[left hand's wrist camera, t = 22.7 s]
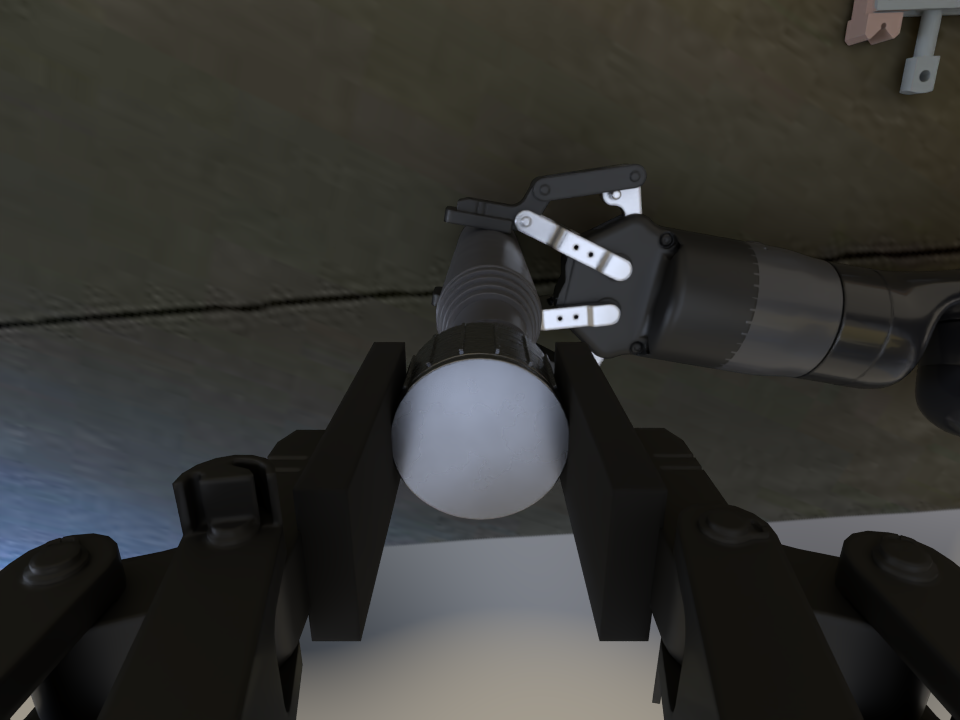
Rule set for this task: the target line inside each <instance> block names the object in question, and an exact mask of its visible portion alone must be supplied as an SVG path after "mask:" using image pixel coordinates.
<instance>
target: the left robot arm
mask: <svg viewBox="0 0 960 720" xmlns="http://www.w3.org/2000/svg"><path fill="white" fill-rule="evenodd" d="M554 376H555V380H556V383H557V386H558V389H559V392H560V396H561V399H562V402H563V405H564V408H565V411H566V414H567V417H568V420H569V442H568V458H567V463H566V465H565V468H564V470H563V472H562V474H561V476H560V480H561V484H562V489H563V493H564V497H565V501H566V505H567V509H568V513H569V517H570V521H571V526H572V530H573V534H574V538H575V542H576V546H577V550H578V554H579V558H580V563H581V567H582V571H583V575H584V579H585V583H586V587H587V591H588V595H589V600H590V604H591V608H592V612H593V616H594V620H595V624H596V628H597V632H598V636H599V640H600V641H648V640H649V632H650V624H651V617H652V613H653V616H654V619H655V621H656V624H657V627H658V630H659V632H660V635H661V643H660V650H659V657H658V664H657V671H656V678H655V685H654V693H653V700H652V703H658V704H660V700H661V697H662V705H663V714H664V720H940V719H939V718H938V717H937V716H936V715H935V714H934V713H933V712H932V710H931V709H930V708H929V707H928V706H927V705H926V704H927V701H928V698H929V695H930V693H932V694H933V695H934V696H935V697H936V698H937V700H938V701H939V702H940V703H941V704H942V705H943V706H944V707H945V708H946V710H947V711H948V712H949V713H950V714H951V715H952V716H951V719H950V720H960V567H959V566H958V565H956V564H955V563H954V562H953V561H951V560H950V559H948V558H947V557H945V556H944V555H942V554H941V553H939V552H938V551H936V550H934V549H933V548H931V547H929V546H926V545H924V544H922V543H919V542H917V541H915V540H914V539H912V538H909V537H906V536H902V535H901V536H899V535H898V534H894V533H888V532H876V531H864V532H859V533H853V534H851V535H850V536H849V537H848V538H847V539H846V540H844V543H843V547H842V551H841V555H840V557H836V556H831V555H826V554H821V553H816V552H811V551H806V550H801V549H797V548H793V547H789V546H785V545H782V544H781V543H780V540H779V538H778V536H777V534H776V533H775V532H774V531H773V529H772V528H771V527H770V525H769V524H768V523H767V522H765V521H764V520H762V519H761V518H759V517H758V516H756V515H755V514H753V513H751V512H748V511H746V510H744V509H741V508H739V507H736V506H732V505H728V504H727V502H726V501H725V499H724V498H723V497H722V495H721V494H720V492H719V491H718V489H717V488H716V487H715V485H714V484H713V482H712V481H711V479H710V478H709V477H708V475H707V474H706V472H705V471H704V470H702V468H701V465H700V464H699V462H698V461H697V460H696V458H693V454H692V452H691V451H690V450H689V448H688V447H687V445H686V444H685V442H684V441H683V440H682V439H680V438H679V437H677V436H676V435H674V434H672V433H671V432H669V431H668V430H666V429H665V428H633V426H632V424H631V422H630V420H629V419H628V417H627V415H626V413H625V411H624V410H623V408H622V406H621V404H620V402H619V401H618V399H617V397H616V395H615V393H614V392H613V390H612V388H611V386H610V384H609V383H608V381H607V379H606V377H605V375H604V374H603V372H602V370H601V368H600V366H599V365H598V363H597V361H596V359H595V357H594V356H593V354H592V352H591V350H590V348H589V346H588V345H587V343H586V342H555V363H554ZM405 377H406V355H405V342H374V344H373V345H372V347H371V349H370V351H369V353H368V354H367V356H366V358H365V360H364V362H363V363H362V365H361V367H360V369H359V371H358V372H357V374H356V376H355V378H354V380H353V381H352V383H351V385H350V387H349V389H348V391H347V392H346V394H345V396H344V398H343V400H342V401H341V403H340V405H339V407H338V409H337V410H336V412H335V414H334V416H333V418H332V419H331V421H330V423H329V425H328V427H327V428H326V430H296V431H294V432H293V433H291V434H290V435H288V436H287V437H285V438H283V439H282V440H280V441H279V442H277V444H276V445H275V447H274V448H273V450H272V451H271V453H270V454H269V455H268V459H266V458H262V457H258V456H254V455H232V456H226V457H220V458H215V459H212V460H209V461H207V462H204V463H201V464H198V465H196V466H194V467H192V468H191V469H189V470H187V471H186V472H184V473H182V474H181V475H180V476H179V477H178V478H177V479H176V480H175V482H174V483H173V489H174V494H175V499H176V503H177V508H178V513H179V517H180V522H181V527H182V531H183V537H182V539H181V541H180V544H179V546H178V547H177V548H173V549H170V550H166V551H162V552H157V553H152V554H147V555H142V556H137V557H132V558H127V559H122V560H121V557H120V553H119V549H118V545H117V543H116V542H115V541H114V540H113V539H111V538H110V537H109V536H105V535H99V534H94V533H93V534H81V535H71V536H66V537H63V538H58V539H55V540H52V541H49V542H47V543H45V544H43V545H41V546H39V547H37V548H34V549H32V550H30V551H28V552H26V553H25V554H23V555H22V556H20V557H19V558H17V559H16V560H14V561H13V562H11V563H10V564H8V565H7V566H6V567H5V568H4V569H2V570H1V571H0V720H10V718H11V717H12V716H13V715H14V713H15V712H16V711H17V710H18V709H19V708H20V707H21V705H22V704H23V703H24V702H25V701H26V700H27V699H28V698H29V696H30V695H31V697H32V699H33V702H34V705H35V707H34V709H33V710H32V711H31V712H30V713H29V714H28V716H27V717H26V718H25V719H24V720H296V715H297V707H298V698H299V690H300V682H301V673H302V657H301V650H300V643H299V639H300V636H301V634H302V631H303V628H304V625H305V623H306V620H307V617H308V615H309V622H310V629H311V637H312V641H361V638H362V634H363V630H364V626H365V622H366V617H367V613H368V609H369V605H370V601H371V597H372V593H373V589H374V585H375V581H376V576H377V572H378V568H379V564H380V560H381V556H382V552H383V548H384V544H385V539H386V535H387V531H388V527H389V523H390V519H391V515H392V511H393V507H394V502H395V498H396V494H397V490H398V486H399V482H400V478H401V476H400V475H399V473H398V471H397V469H396V467H395V464H394V462H393V451H392V434H391V422H392V418H393V415H394V412H395V409H396V406H397V403H398V400H399V397H400V394H401V391H402V386H403V383H404V380H405Z"/></svg>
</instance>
